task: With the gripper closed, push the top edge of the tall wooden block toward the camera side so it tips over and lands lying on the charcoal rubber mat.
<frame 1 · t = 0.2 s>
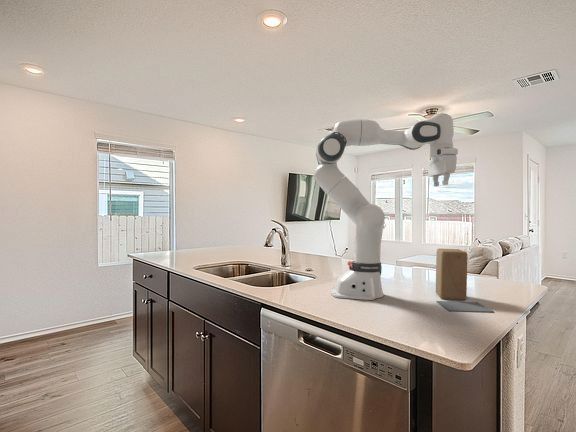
hand: (440, 185, 141), 47 cm above the worktop, fingers open, 8 cm apart
mat: (463, 306, 126), on the worktop
wooden block: (450, 297, 140), on the worktop
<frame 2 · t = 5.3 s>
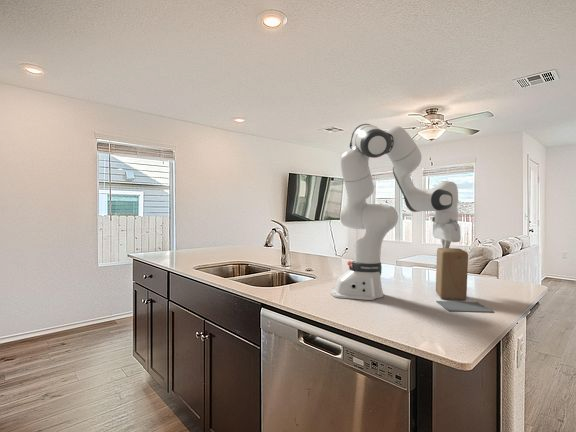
hand: (445, 250, 145), 19 cm above the worktop, fingers closed
nothing on the worktop moved.
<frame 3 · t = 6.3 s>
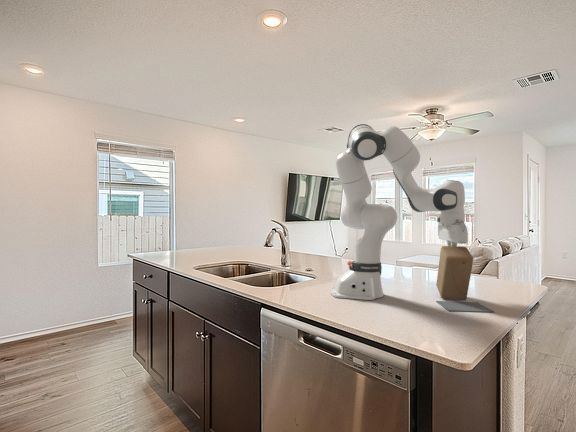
hand: (451, 252, 139), 19 cm above the worktop, fingers closed
wooden block: (450, 293, 140), point 2 cm above the worktop
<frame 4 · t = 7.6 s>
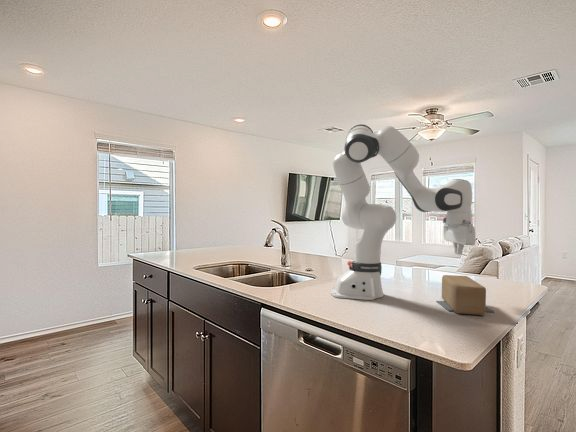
hand: (458, 254, 133), 19 cm above the worktop, fingers closed
wooden block: (454, 287, 135), point 5 cm above the worktop, touching mat
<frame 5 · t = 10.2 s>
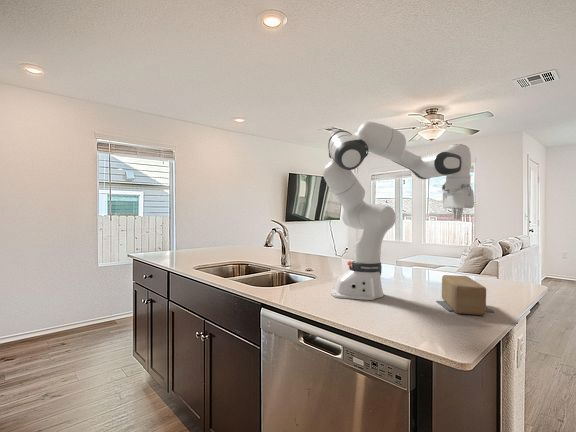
hand: (457, 219, 134), 33 cm above the worktop, fingers closed
nothing on the worktop moved.
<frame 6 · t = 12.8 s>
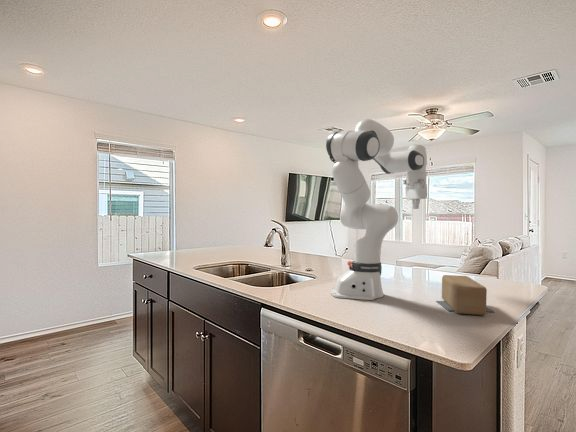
hand: (415, 208, 158), 37 cm above the worktop, fingers closed
nothing on the worktop moved.
at the end: wooden block tilted 90°; wooden block inside the target area (9.2 cm from its centre), point 5.4 cm above the worktop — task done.
